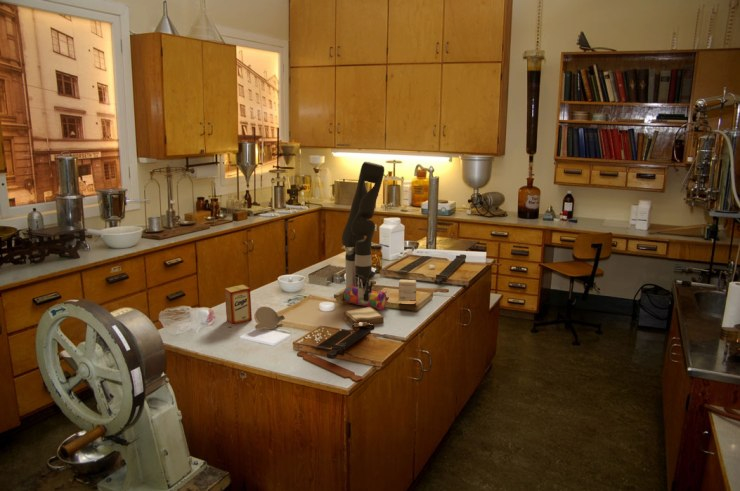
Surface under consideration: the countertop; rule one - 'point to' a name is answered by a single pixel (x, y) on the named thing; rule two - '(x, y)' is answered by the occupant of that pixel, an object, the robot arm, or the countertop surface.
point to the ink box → (407, 290)
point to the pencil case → (375, 298)
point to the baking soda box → (238, 304)
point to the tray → (363, 316)
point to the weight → (361, 296)
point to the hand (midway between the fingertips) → (363, 298)
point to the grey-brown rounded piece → (267, 318)
